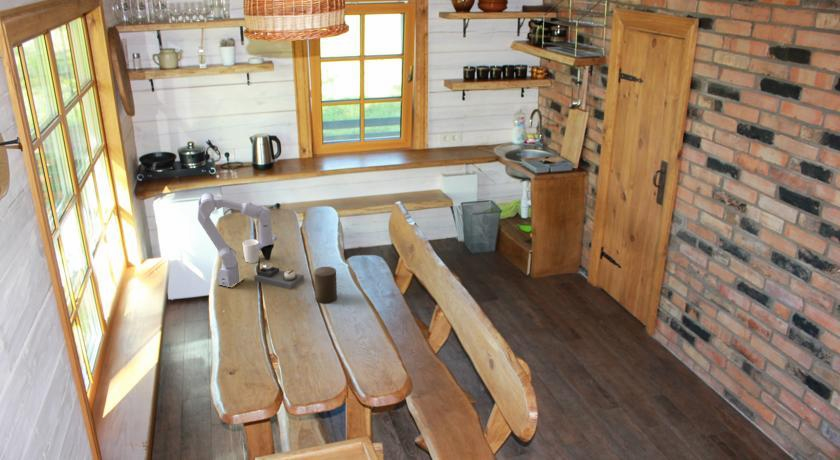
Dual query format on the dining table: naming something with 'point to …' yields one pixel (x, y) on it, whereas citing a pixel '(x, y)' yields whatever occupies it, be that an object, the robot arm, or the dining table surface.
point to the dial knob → (289, 274)
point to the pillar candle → (325, 284)
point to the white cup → (250, 251)
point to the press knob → (267, 266)
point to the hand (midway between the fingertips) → (267, 259)
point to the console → (277, 278)
